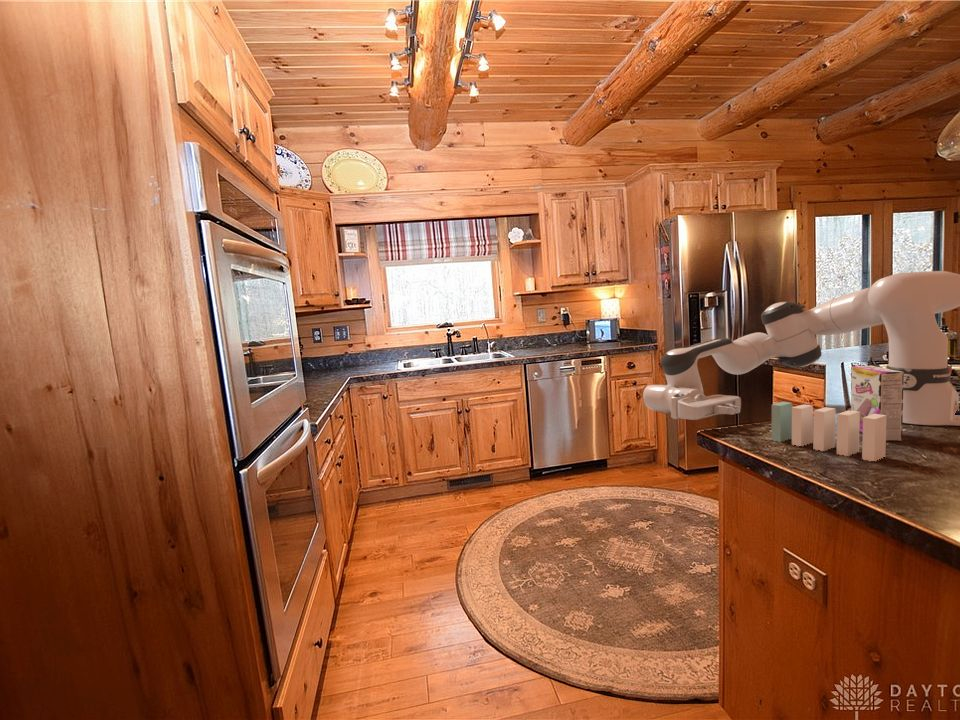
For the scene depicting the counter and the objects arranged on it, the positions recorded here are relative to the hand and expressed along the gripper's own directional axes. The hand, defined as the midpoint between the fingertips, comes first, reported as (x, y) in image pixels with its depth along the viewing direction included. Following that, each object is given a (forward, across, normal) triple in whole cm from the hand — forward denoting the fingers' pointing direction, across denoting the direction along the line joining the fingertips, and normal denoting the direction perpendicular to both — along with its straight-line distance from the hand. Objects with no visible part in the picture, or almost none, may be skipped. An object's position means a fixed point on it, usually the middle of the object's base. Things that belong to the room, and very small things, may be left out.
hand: (736, 410), depth 117 cm
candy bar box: (+22, -19, -6) cm, 30 cm away
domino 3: (+20, 0, -5) cm, 21 cm away
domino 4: (+25, 0, -5) cm, 25 cm away
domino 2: (+16, 0, -5) cm, 17 cm away
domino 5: (+29, 0, -5) cm, 30 cm away
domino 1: (+11, 0, -5) cm, 12 cm away
